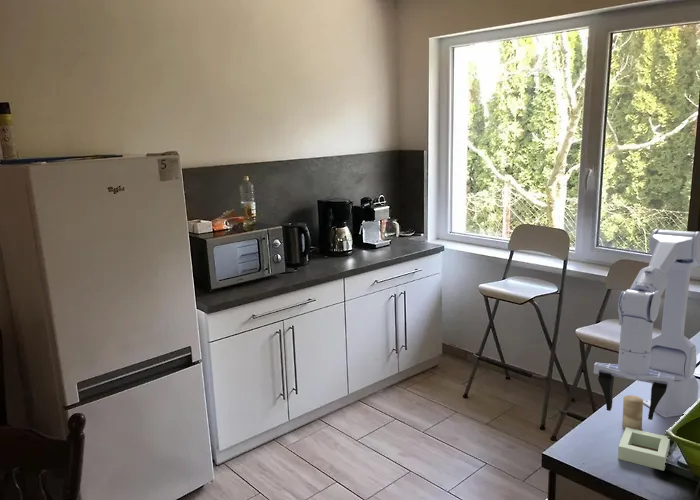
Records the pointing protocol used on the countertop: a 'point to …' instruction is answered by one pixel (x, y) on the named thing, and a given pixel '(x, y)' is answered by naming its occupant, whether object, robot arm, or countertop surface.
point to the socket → (644, 448)
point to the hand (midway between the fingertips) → (629, 413)
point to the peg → (632, 412)
